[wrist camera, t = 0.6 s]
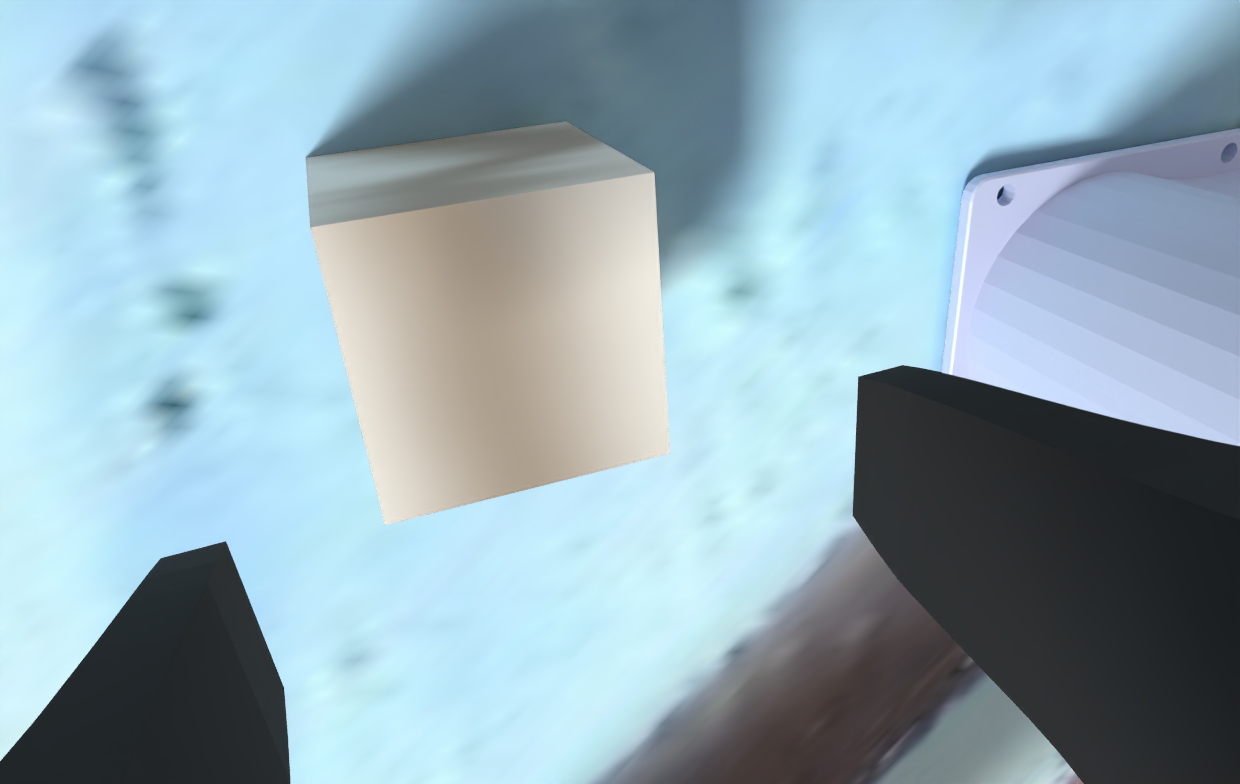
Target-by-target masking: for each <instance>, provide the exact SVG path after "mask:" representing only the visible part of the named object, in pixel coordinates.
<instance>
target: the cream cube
mask: <svg viewBox="0 0 1240 784" xmlns="http://www.w3.org/2000/svg"><path fill="white" fill-rule="evenodd" d="M306 171H307V185H308V200H309V215H310V228H311V232H312V236H313V240H314V244H315V248H316V252H317V256H318V260H319V264H320V268H321V272H322V276H323V280H324V284H325V288H326V292H327V296H328V300H329V304H330V308H331V312H332V315H333V319H334V323H335V327H336V331H337V335H338V339H339V343H340V347H341V351H342V355H343V359H344V363H345V367H346V371H347V375H348V379H349V383H350V387H351V391H352V395H353V399H354V403H355V407H356V411H357V415H358V419H359V423H360V427H361V431H362V435H363V439H364V443H365V447H366V451H367V455H368V459H369V463H370V467H371V471H372V475H373V479H374V483H375V487H376V491H377V495H378V499H379V503H380V507H381V511H382V515H383V518H384V522H385V525H387V524H391V523H395V522H399V521H403V520H407V519H411V518H415V517H419V516H423V515H427V514H431V513H435V512H439V511H443V510H447V509H451V508H455V507H459V506H463V505H467V504H471V503H475V502H479V501H483V500H487V499H491V498H495V497H499V496H503V495H507V494H511V493H515V492H519V491H523V490H527V489H531V488H535V487H539V486H543V485H547V484H551V483H554V482H558V481H562V480H566V479H570V478H574V477H578V476H582V475H586V474H590V473H594V472H598V471H602V470H606V469H610V468H614V467H618V466H622V465H626V464H630V463H634V462H638V461H642V460H646V459H650V458H654V457H658V456H662V455H666V454H670V445H669V427H668V409H667V391H666V373H665V355H664V336H663V318H662V300H661V282H660V264H659V246H658V228H657V209H656V191H655V173H654V172H653V171H651V170H650V169H648V168H646V167H645V166H643V165H641V164H639V163H638V162H636V161H634V160H632V159H631V158H629V157H627V156H626V155H624V154H622V153H620V152H619V151H617V150H615V149H613V148H612V147H610V146H608V145H607V144H605V143H603V142H601V141H600V140H598V139H596V138H594V137H593V136H591V135H589V134H588V133H586V132H584V131H582V130H581V129H579V128H577V127H576V126H574V125H572V124H570V123H569V122H567V121H563V122H556V123H548V124H541V125H534V126H527V127H520V128H513V129H506V130H498V131H491V132H484V133H477V134H470V135H463V136H456V137H448V138H441V139H434V140H427V141H420V142H413V143H406V144H398V145H391V146H384V147H377V148H370V149H363V150H356V151H348V152H341V153H334V154H327V155H320V156H313V157H306Z"/></svg>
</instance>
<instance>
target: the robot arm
mask: <svg viewBox="0 0 1240 784" xmlns="http://www.w3.org/2000/svg"><path fill="white" fill-rule="evenodd" d="M1003 186H1004V191H1003V194H1002V196H1001V197H1000V198H999V199H998V200H997V195H998V192H999V190H1000V189H1001V188H1002V187H1003ZM853 516H854V518H855V519H856V521H857V522H858V524H859V525H860V527H861V528H862V530H863V531H864V533H865V534H866V536H867V537H868V539H869V540H870V541H871V543H872V544H873V546H874V547H875V549H876V550H877V552H878V553H879V554H880V556H881V557H882V558H883V560H884V561H885V563H886V564H887V565H888V567H889V568H890V569H891V571H892V572H893V573H894V575H895V576H896V577H897V579H898V580H899V581H900V582H901V583H902V584H903V586H904V587H905V588H906V589H907V590H908V591H909V592H910V593H911V594H912V596H913V597H914V598H915V599H916V600H917V601H918V602H919V603H920V604H921V605H922V606H923V607H924V608H925V609H926V611H927V612H928V613H929V614H930V615H931V616H932V617H933V618H934V619H935V620H936V621H937V622H938V623H939V624H940V626H941V627H942V628H943V629H944V630H945V631H946V632H947V633H948V634H949V635H950V636H951V637H952V638H953V639H954V640H955V641H956V642H957V643H958V645H959V646H960V647H961V648H962V649H963V650H964V651H965V652H966V653H967V654H968V655H969V656H970V657H971V658H972V659H973V660H974V661H975V662H976V663H977V664H978V665H979V667H980V668H981V669H982V670H983V671H984V672H985V673H986V674H987V675H988V676H989V677H990V678H991V679H992V680H993V681H994V682H995V683H996V684H997V685H998V686H999V688H1000V689H1001V690H1002V691H1003V692H1004V693H1005V694H1006V695H1007V696H1008V697H1009V698H1010V699H1011V700H1012V701H1013V702H1014V703H1015V704H1016V705H1017V706H1018V707H1019V709H1020V710H1021V711H1022V712H1023V713H1024V714H1025V715H1026V716H1027V717H1028V718H1029V719H1030V720H1031V721H1032V722H1033V723H1034V725H1035V726H1036V727H1037V728H1038V729H1039V730H1040V731H1041V733H1042V734H1043V735H1044V736H1045V737H1046V738H1047V739H1048V740H1049V742H1050V743H1051V744H1052V745H1053V746H1054V747H1055V748H1056V750H1057V751H1058V752H1059V753H1060V754H1061V755H1062V757H1063V758H1064V759H1065V760H1066V762H1067V763H1068V764H1069V765H1070V767H1071V768H1072V769H1073V771H1074V772H1075V773H1076V774H1077V776H1078V777H1079V778H1080V780H1081V781H1082V782H1083V783H1084V784H1240V128H1237V129H1231V130H1226V131H1220V132H1215V133H1209V134H1203V135H1198V136H1192V137H1187V138H1181V139H1176V140H1170V141H1164V142H1159V143H1153V144H1148V145H1142V146H1137V147H1131V148H1125V149H1120V150H1114V151H1109V152H1103V153H1098V154H1092V155H1086V156H1081V157H1075V158H1070V159H1064V160H1058V161H1053V162H1047V163H1042V164H1036V165H1031V166H1025V167H1019V168H1014V169H1008V170H1003V171H997V172H992V173H986V174H981V175H979V176H976V177H974V178H973V179H972V180H971V181H970V182H968V184H967V186H966V187H965V189H964V191H963V195H962V198H961V207H960V216H959V224H958V233H957V242H956V250H955V259H954V268H953V277H952V285H951V294H950V303H949V312H948V320H947V329H946V338H945V347H944V355H943V364H942V372H937V371H933V370H928V369H923V368H917V367H910V366H904V365H902V366H898V367H894V368H890V369H887V370H883V371H879V372H875V373H871V374H867V375H864V376H860V377H858V400H857V424H856V449H855V474H854V498H853ZM0 784H290V767H289V749H288V734H287V721H286V708H285V695H284V687H283V685H282V682H281V679H280V677H279V674H278V672H277V669H276V667H275V664H274V662H273V659H272V657H271V654H270V652H269V649H268V647H267V644H266V642H265V639H264V637H263V634H262V631H261V629H260V626H259V624H258V621H257V619H256V616H255V614H254V611H253V609H252V606H251V604H250V601H249V599H248V596H247V594H246V591H245V589H244V586H243V583H242V581H241V578H240V576H239V573H238V571H237V568H236V566H235V563H234V561H233V558H232V556H231V553H230V551H229V548H228V546H227V543H226V542H222V543H218V544H214V545H210V546H207V547H203V548H199V549H195V550H191V551H187V552H183V553H180V554H176V555H172V556H168V557H164V558H161V559H160V560H159V561H158V562H157V564H156V565H155V566H154V567H153V569H152V570H151V571H150V572H149V573H148V575H147V576H146V577H145V579H144V580H143V581H142V582H141V584H140V585H139V586H138V588H137V589H136V590H135V592H134V593H133V594H132V596H131V597H130V598H129V600H128V601H127V602H126V604H125V605H124V606H123V608H122V609H121V610H120V612H119V613H118V614H117V616H116V617H115V618H114V620H113V621H112V622H111V624H110V625H109V626H108V627H107V629H106V630H105V631H104V633H103V634H102V635H101V637H100V638H99V639H98V641H97V642H96V643H95V645H94V646H93V647H92V649H91V650H90V651H89V652H88V654H87V655H86V656H85V658H84V659H83V660H82V661H81V663H80V664H79V665H78V667H77V668H76V669H75V670H74V672H73V673H72V674H71V675H70V677H69V678H68V679H67V681H66V682H65V683H64V684H63V686H62V687H61V688H60V690H59V691H58V692H57V693H56V695H55V696H54V697H53V699H52V700H51V701H50V702H49V704H48V705H47V706H46V708H45V709H44V710H43V711H42V713H41V714H40V715H39V716H38V718H37V719H36V720H35V721H34V723H33V724H32V725H31V726H30V727H29V728H28V730H27V731H26V732H25V733H24V734H23V735H22V737H21V738H20V739H19V740H18V741H17V742H16V744H15V745H14V746H13V747H12V748H11V749H10V751H9V752H8V753H7V754H6V755H5V757H4V758H3V759H2V760H1V761H0Z"/></svg>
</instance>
